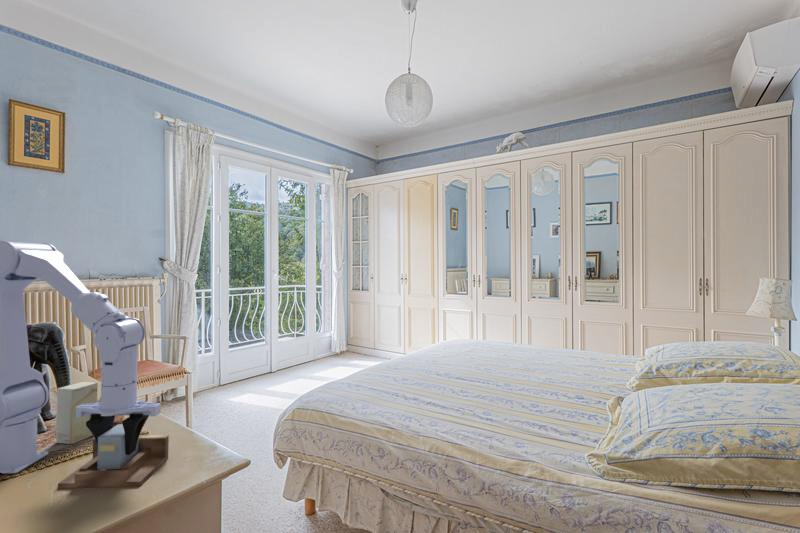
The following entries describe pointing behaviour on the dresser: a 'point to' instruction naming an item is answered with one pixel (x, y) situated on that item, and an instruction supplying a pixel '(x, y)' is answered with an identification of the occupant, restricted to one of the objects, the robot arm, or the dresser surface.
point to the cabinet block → (113, 449)
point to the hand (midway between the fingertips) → (118, 452)
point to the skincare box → (74, 411)
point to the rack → (130, 474)
